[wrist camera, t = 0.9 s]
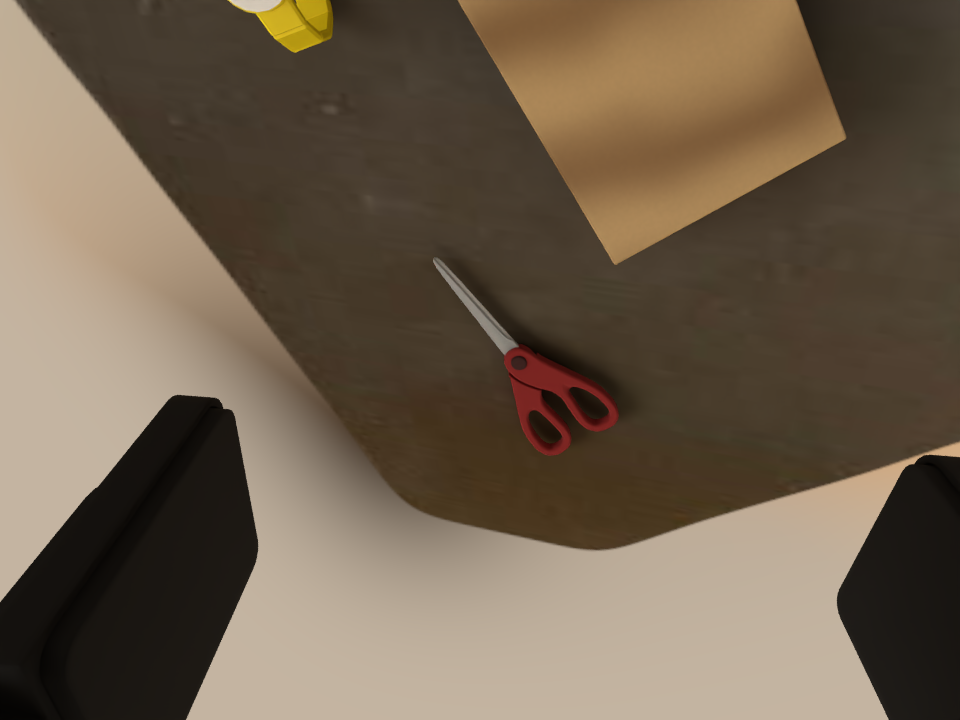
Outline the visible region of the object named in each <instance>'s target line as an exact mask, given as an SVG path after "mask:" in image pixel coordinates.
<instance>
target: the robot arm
mask: <svg viewBox="0 0 960 720" xmlns="http://www.w3.org/2000/svg"><path fill="white" fill-rule="evenodd" d="M257 553H258V539H257V533H256V529H255V523H254V517H253V512H252V506H251V501H250V496H249V490H248V485H247V480H246V474H245V469H244V464H243V458H242V453H241V447H240V442H239V437H238V431H237V426H236V421H235V416H234V413H233V412H232V410H229V409H223V406H222V403H221V402H220V400H219V399H217V398H210V397H198V396H185V395H175V396H173V397H171V398H170V399H169V400H168V401H167V402H166V404H165V405H164V406H163V407H162V408H161V410H160V411H159V412H158V413H157V415H156V416H155V417H154V418H153V420H152V421H151V422H150V423H149V425H148V426H147V427H146V428H145V429H144V431H143V432H142V433H141V434H140V436H139V437H138V438H137V439H136V441H135V442H134V443H133V444H132V446H131V447H130V448H129V449H128V450H127V452H126V453H125V454H124V455H123V457H122V458H121V459H120V461H119V462H118V463H117V464H116V466H115V467H114V468H113V469H112V470H111V472H110V473H109V474H108V475H107V476H106V478H105V479H104V480H103V481H102V483H101V484H100V485H99V486H98V487H97V488H95V489H94V490H93V491H92V492H91V493H90V494H89V495H88V496H87V497H86V498H85V499H84V500H83V501H82V503H81V504H80V505H79V506H78V508H77V509H76V510H75V511H74V512H73V514H72V515H71V516H70V517H69V519H68V520H67V521H66V522H65V523H64V525H63V526H62V527H61V528H60V530H59V531H58V532H57V533H56V534H55V536H54V537H53V538H52V539H51V541H50V542H49V543H48V544H47V546H46V547H45V548H44V549H43V551H42V552H41V553H40V554H39V555H38V557H37V558H36V559H35V560H34V562H33V563H32V564H31V565H30V566H29V568H28V569H27V570H26V571H25V572H24V574H23V575H22V576H21V578H20V579H19V580H18V581H17V582H16V584H15V585H14V586H13V587H12V588H11V590H10V591H9V592H8V593H7V595H6V596H5V597H4V598H3V600H2V601H1V602H0V720H186V718H187V716H188V714H189V712H190V709H191V707H192V704H193V703H194V700H195V698H196V696H197V694H198V691H199V689H200V687H201V685H202V682H203V680H204V678H205V676H206V673H207V671H208V669H209V667H210V665H211V662H212V660H213V657H214V656H215V653H216V651H217V649H218V646H219V644H220V642H221V640H222V638H223V635H224V633H225V631H226V629H227V626H228V624H229V622H230V620H231V617H232V615H233V613H234V611H235V609H236V606H237V604H238V602H239V600H240V597H241V595H242V593H243V591H244V588H245V586H246V584H247V582H248V579H249V577H250V575H251V572H252V570H253V568H254V565H255V563H256V558H257ZM837 607H838V613H839V615H840V618H841V620H842V622H843V625H844V627H845V629H846V631H847V633H848V635H849V637H850V639H851V641H852V643H853V645H854V648H855V650H856V651H857V654H858V656H859V658H860V660H861V662H862V664H863V666H864V669H865V671H866V673H867V675H868V677H869V679H870V681H871V683H872V685H873V687H874V689H875V692H876V694H877V696H878V698H879V700H880V702H881V704H882V706H883V708H884V710H885V713H886V715H887V717H888V719H889V720H960V457H950V456H939V455H925V456H922V457H921V458H919V459H918V460H917V461H916V462H915V464H911V465H908V466H907V467H905V469H904V470H903V471H902V473H901V475H900V477H899V478H898V480H897V482H896V484H895V486H894V488H893V490H892V492H891V494H890V495H889V497H888V499H887V501H886V503H885V505H884V507H883V508H882V510H881V512H880V514H879V516H878V518H877V520H876V522H875V523H874V525H873V527H872V529H871V531H870V533H869V535H868V537H867V538H866V540H865V542H864V544H863V546H862V548H861V550H860V552H859V553H858V555H857V557H856V559H855V561H854V563H853V565H852V567H851V568H850V571H849V572H848V574H847V576H846V578H845V580H844V582H843V584H842V585H841V587H840V589H839V592H838V596H837Z"/></svg>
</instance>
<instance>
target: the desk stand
mask: <svg viewBox="0 0 960 720" xmlns="http://www.w3.org/2000/svg"><path fill="white" fill-rule="evenodd" d="M458 2H459V4H460V5H461V7H462V9H463V10H464V12H465V14H466V15H467V17H468V19H469V20H470V22H471V24H472V25H473V27H474V29H475V30H476V32H477V34H478V36H479V37H480V39H481V41H482V42H483V44H484V46H485V47H486V49H487V51H488V52H489V54H490V56H491V57H492V59H493V61H494V62H495V64H496V66H497V68H498V69H499V71H500V73H501V74H502V76H503V78H504V79H505V81H506V83H507V84H508V86H509V88H510V89H511V91H512V93H513V94H514V96H515V98H516V100H517V101H518V103H519V105H520V106H521V108H522V110H523V111H524V113H525V115H526V116H527V118H528V120H529V121H530V123H531V125H532V126H533V128H534V130H535V132H536V133H537V135H538V137H539V138H540V140H541V142H542V143H543V145H544V147H545V148H546V150H547V152H548V153H549V155H550V157H551V158H552V160H553V162H554V164H555V165H556V167H557V169H558V170H559V172H560V174H561V175H562V177H563V179H564V180H565V182H566V184H567V185H568V187H569V189H570V190H571V192H572V194H573V196H574V197H575V199H576V201H577V202H578V204H579V206H580V207H581V209H582V211H583V212H584V214H585V216H586V217H587V219H588V221H589V223H590V224H591V226H592V228H593V229H594V231H595V233H596V234H597V236H598V238H599V239H600V241H601V243H602V244H603V246H604V248H605V249H606V251H607V253H608V255H609V256H610V258H611V260H612V261H613V263H614V264H615V265H616V264H618V263H620V262H622V261H623V260H625V259H627V258H629V257H631V256H633V255H634V254H636V253H638V252H640V251H642V250H644V249H645V248H647V247H649V246H651V245H653V244H655V243H656V242H658V241H660V240H662V239H664V238H665V237H667V236H669V235H671V234H673V233H675V232H676V231H678V230H680V229H682V228H684V227H686V226H687V225H689V224H691V223H693V222H695V221H697V220H698V219H700V218H702V217H704V216H706V215H708V214H709V213H711V212H713V211H715V210H717V209H719V208H720V207H722V206H724V205H726V204H728V203H730V202H731V201H733V200H735V199H737V198H739V197H741V196H742V195H744V194H746V193H748V192H750V191H752V190H753V189H755V188H757V187H759V186H761V185H763V184H764V183H766V182H768V181H770V180H772V179H773V178H775V177H777V176H779V175H781V174H783V173H784V172H786V171H788V170H790V169H792V168H794V167H795V166H797V165H799V164H801V163H803V162H805V161H806V160H808V159H810V158H812V157H814V156H816V155H817V154H819V153H821V152H823V151H825V150H827V149H828V148H830V147H832V146H834V145H836V144H838V143H839V142H841V141H843V140H845V139H846V134H845V132H844V129H843V126H842V123H841V121H840V118H839V115H838V113H837V110H836V107H835V104H834V102H833V99H832V96H831V93H830V91H829V88H828V85H827V83H826V80H825V77H824V74H823V72H822V69H821V66H820V63H819V61H818V58H817V55H816V53H815V50H814V47H813V44H812V42H811V39H810V36H809V33H808V31H807V28H806V25H805V22H804V20H803V17H802V14H801V12H800V9H799V6H798V3H797V1H796V0H458Z"/></svg>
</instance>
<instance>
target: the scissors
mask: <svg viewBox="0 0 960 720" xmlns="http://www.w3.org/2000/svg"><path fill="white" fill-rule="evenodd" d="M433 262H434V264H435V266H436V267H437V269H438V270H439V271H440V273H441V274H442V276H443V277H444V278H445V280H446V281H447V282H448V284H449V285H450V286H451V288H452V289H453V290H454V291H455V293H456V294H457V295H458V297H459V298H460V299H461V301H462V302H463V303H464V304H465V306H466V307H467V308H468V309H469V311H470V312H471V313H472V315H473V316H474V317H475V318H476V320H477V321H478V322H479V323H480V325H481V326H482V327H483V328H484V330H485V331H486V332H487V334H488V335H489V336H490V338H491V339H492V340H493V341H494V343H495V344H496V345H497V346H498V348H499V349H500V350H501V351H502V353H503V354H504V363H505V366H506V367H507V369H508V372H509V377H510V379H511V383H512V387H513V392H514V396H515V400H516V405H517V410H518V414H519V418H520V422H521V426H522V429H523V431H524V433H525V435H526V436H527V438H528V439H529V441H530V442H531V443H532V445H533V446H534V447H535V448H536V449H537V450H538V451H539V452H541V453H543V454H546V455H557V454H560V453H562V452H563V451H565V450H566V449H567V448H568V447H569V446H570V444H571V432H570V429H569V427H568V425H567V424H566V423H565V421H564V420H563V419H562V418H561V417H560V416H559V415H558V414H557V413H556V412H555V411H554V410H553V409H552V408H551V407H550V406H549V405H548V404H547V403H546V402H545V401H544V399H543V397H542V394H541V393H542V389H544V390H548V391H551V392H554V393H556V394H557V395H558V396H560V397H561V398H562V399H563V401H564V402H565V404H566V405H567V407H568V408H569V410H570V411H571V413H572V414H573V416H574V417H575V418H576V419H577V421H578V422H579V423H580V424H581V425H582V426H584V427H585V428H587V429H588V430H592V431H602V430H606V429H608V428H610V427H612V426H613V425H614V424H615V423H616V422H617V420H618V415H619V413H618V408H617V404H616V403H615V401H614V399H613V398H612V397H611V396H610V395H609V394H608V393H607V392H606V391H605V390H604V389H603V388H602V387H601V386H600V385H598V384H597V383H595V382H594V381H592V380H590V379H588V378H586V377H584V376H582V375H580V374H578V373H576V372H574V371H572V370H570V369H568V368H566V367H563V366H561V365H559V364H557V363H555V362H553V361H551V360H549V359H547V358H545V357H543V356H542V355H540V354H539V353H537V355H536V354H535V353H534V352H533V351H532V350H531V349H530V348H529V347H527V346H525V345H523V344H517V343H516V342H515V341H514V339H513V338H512V337H511V336H510V335H509V334H508V333H507V331H506V330H505V329H504V328H503V327H502V326H501V325H500V324H499V323H498V322H497V320H496V319H495V318H494V317H493V316H492V315H491V314H490V313H489V312H488V310H487V309H486V308H485V307H484V306H483V305H482V304H481V302H480V301H479V300H478V299H477V298H476V297H475V296H474V295H473V294H472V292H471V291H470V290H469V289H468V288H467V287H466V286H465V285H464V284H463V283H462V281H461V280H460V279H459V278H458V277H457V276H456V275H455V274H454V273H453V272H452V271H451V270H450V269H449V268H448V266H447V265H446V264H445V263H444V262H443V261H441V260H440V259H439V258H438V257H435V258H434V259H433ZM571 387H579V388H582V389H584V390H586V391H588V392H590V393H592V394H593V395H595V396H596V397H597V398H599V399H600V400H601V401H602V402H603V404H604V405H605V406H606V407H607V408H608V410H609V413H608V415H606V416H605V417H603V418H600V419H592V418H590V417H588V416H587V415H586V414H585V413H584V412H583V410H582V409H581V408H580V406H579V405H578V403H577V402H576V400H575V399H574V397H573V396H572V394H571V393H570V391H569V389H570V388H571ZM532 410H536V411H539V412H540V413H541V414H542V415H543V416H544V417H546V418H547V419H548V420H549V421H550V422H551V423H552V424H553V425H554V426H555V427H556V428H557V429H558V430H559V432H560V433H561V435H562V436H563V437H562V438H561V439H560V440H559V441H557V442H555V443H551V444H549V443H546V442H545V441H543V440H542V439H541V438H540V437H539V436H538V434H537V433H536V432H535V430H534V429H533V427H532V425H531V423H530V421H529V417H528V416H529V413H530V412H531V411H532Z"/></svg>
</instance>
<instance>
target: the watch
mask: <svg viewBox="0 0 960 720" xmlns="http://www.w3.org/2000/svg"><path fill="white" fill-rule="evenodd" d="M229 1H230V2H231V3H232V4H233V5H234V6H236V7H238V8H240V9H242V10H244V11H246V12H250V13H256V15H257V16H258V17H259V19H260V20H261V21H262V23H263V24H264V26H265V27H266V28H267V30H268V31H269V33H270V34H271V35H272V36H274V38H275V39H276V40H277V41H279V42H280V43H281V44H282V45H284V46H285V47H286V48H288V49H289V50H290V51H292V52H297V51H300V50H303V49H305V48H308V47H310V46H313V45H316V44H318V43H321V42H323V41H326V40H328V39H331V37H332V32H333V11H332V7H331V2H330V0H296V2H297V5H296V3H295V2H294V0H229Z"/></svg>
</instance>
